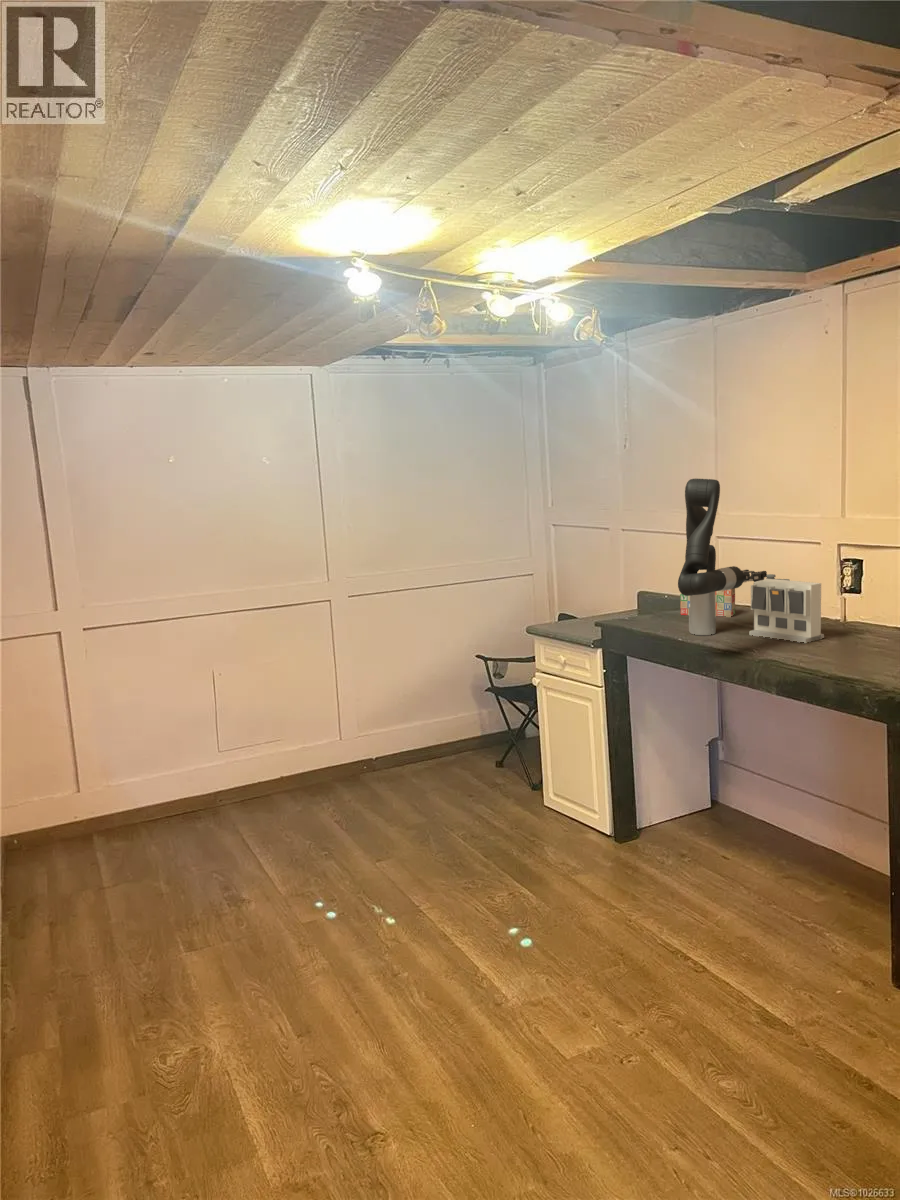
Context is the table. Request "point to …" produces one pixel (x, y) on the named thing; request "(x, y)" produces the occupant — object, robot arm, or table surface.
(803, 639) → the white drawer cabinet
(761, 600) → the rocker switch
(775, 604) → the outlet rocker
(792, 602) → the outlet rocker
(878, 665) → the table surface
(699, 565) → the robot arm
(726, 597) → the stack of blocks
